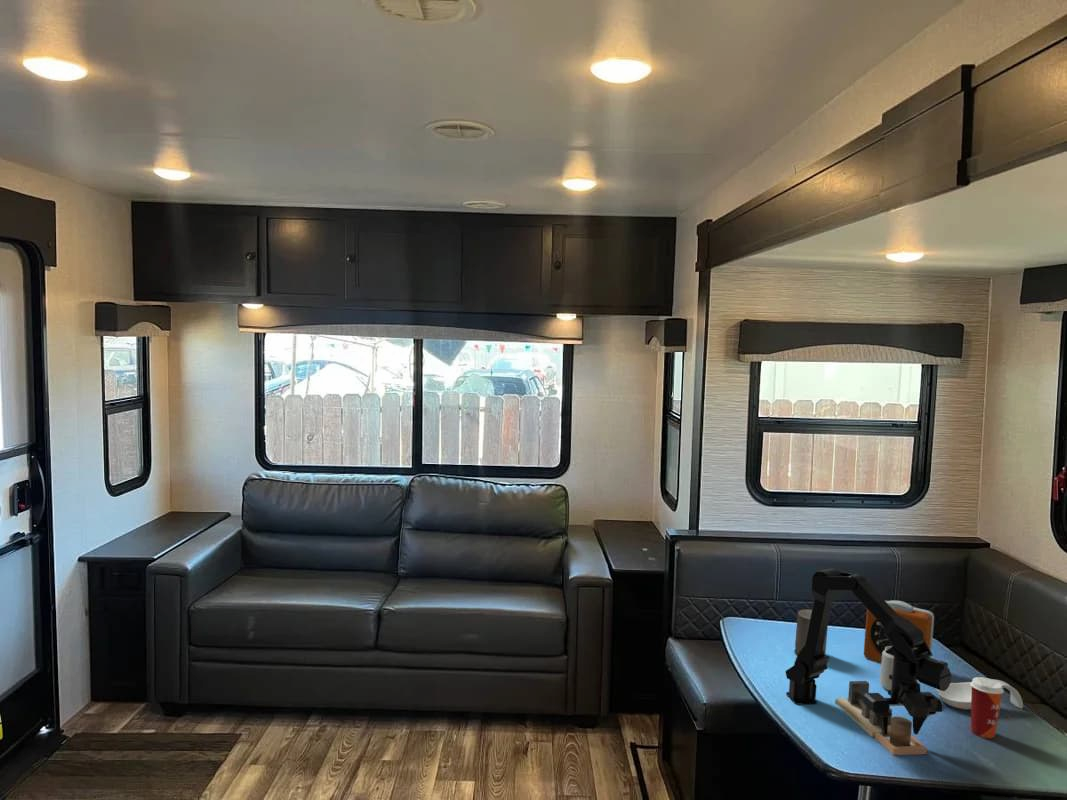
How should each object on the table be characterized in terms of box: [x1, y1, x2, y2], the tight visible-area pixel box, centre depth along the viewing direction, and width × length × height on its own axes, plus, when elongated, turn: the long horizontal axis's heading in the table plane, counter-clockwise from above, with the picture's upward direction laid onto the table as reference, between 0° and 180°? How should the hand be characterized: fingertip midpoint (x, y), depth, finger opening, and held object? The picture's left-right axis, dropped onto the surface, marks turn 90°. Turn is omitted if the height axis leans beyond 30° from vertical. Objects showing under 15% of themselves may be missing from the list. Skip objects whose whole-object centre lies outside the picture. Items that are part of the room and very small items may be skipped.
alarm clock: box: [863, 600, 935, 664], centre depth 252 cm, size 18×9×21 cm, turn 49°
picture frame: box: [875, 733, 928, 756], centre depth 199 cm, size 9×8×2 cm
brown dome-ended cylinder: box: [889, 716, 913, 747], centre depth 200 cm, size 5×5×6 cm
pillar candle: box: [793, 609, 829, 656], centre depth 256 cm, size 10×10×15 cm
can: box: [879, 646, 894, 691], centre depth 233 cm, size 8×8×12 cm
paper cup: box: [970, 676, 1005, 739], centre depth 208 cm, size 8×8×14 cm
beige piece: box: [834, 697, 893, 738], centre depth 214 cm, size 10×19×5 cm, turn 7°
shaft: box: [847, 680, 878, 720], centre depth 214 cm, size 5×14×6 cm, turn 7°
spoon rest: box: [935, 679, 1024, 710], centre depth 225 cm, size 24×12×7 cm, turn 94°
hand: (899, 734), depth 200 cm, fingers open, 8 cm apart
